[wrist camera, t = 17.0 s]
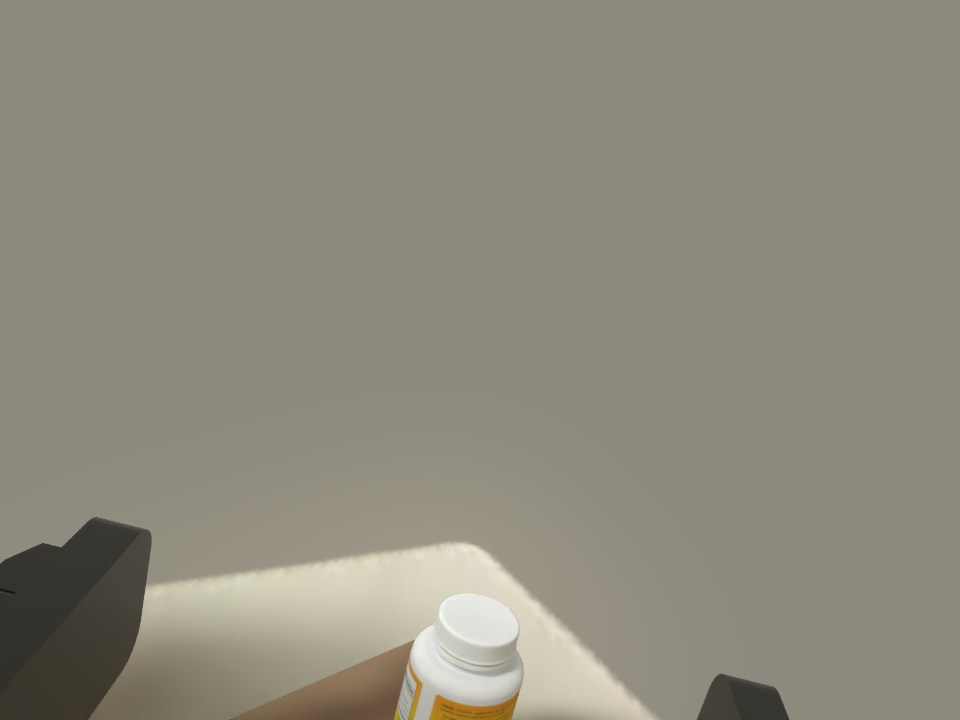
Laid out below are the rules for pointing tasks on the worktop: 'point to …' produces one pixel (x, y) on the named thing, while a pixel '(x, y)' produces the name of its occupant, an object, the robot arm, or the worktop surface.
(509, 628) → the supplement bottle
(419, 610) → the worktop surface
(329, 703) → the walnut board
